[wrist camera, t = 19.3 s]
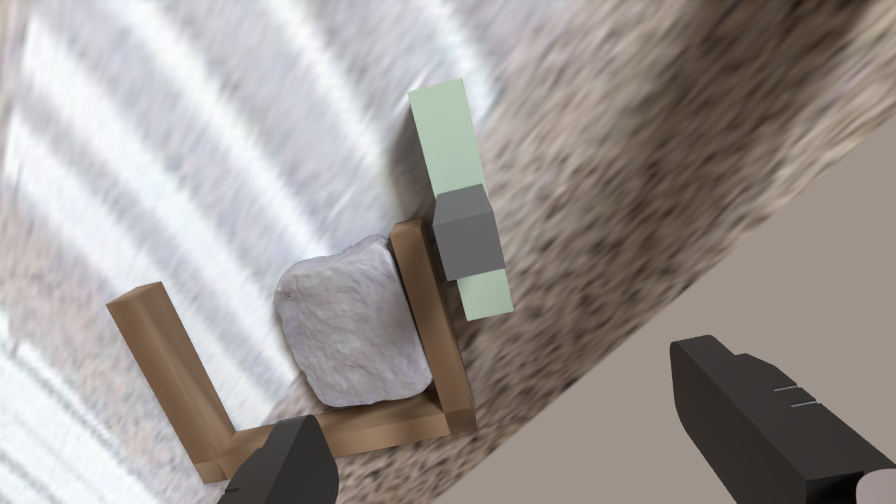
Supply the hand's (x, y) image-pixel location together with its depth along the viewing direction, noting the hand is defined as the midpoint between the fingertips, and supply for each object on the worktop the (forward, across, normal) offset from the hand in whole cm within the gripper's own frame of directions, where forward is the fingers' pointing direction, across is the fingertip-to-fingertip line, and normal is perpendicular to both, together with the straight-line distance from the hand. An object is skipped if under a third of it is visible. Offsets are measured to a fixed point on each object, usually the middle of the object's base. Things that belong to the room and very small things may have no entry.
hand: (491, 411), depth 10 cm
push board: (+22, 0, -1) cm, 22 cm away
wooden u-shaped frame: (+21, +14, +7) cm, 26 cm away
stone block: (+22, +10, +7) cm, 25 cm away
